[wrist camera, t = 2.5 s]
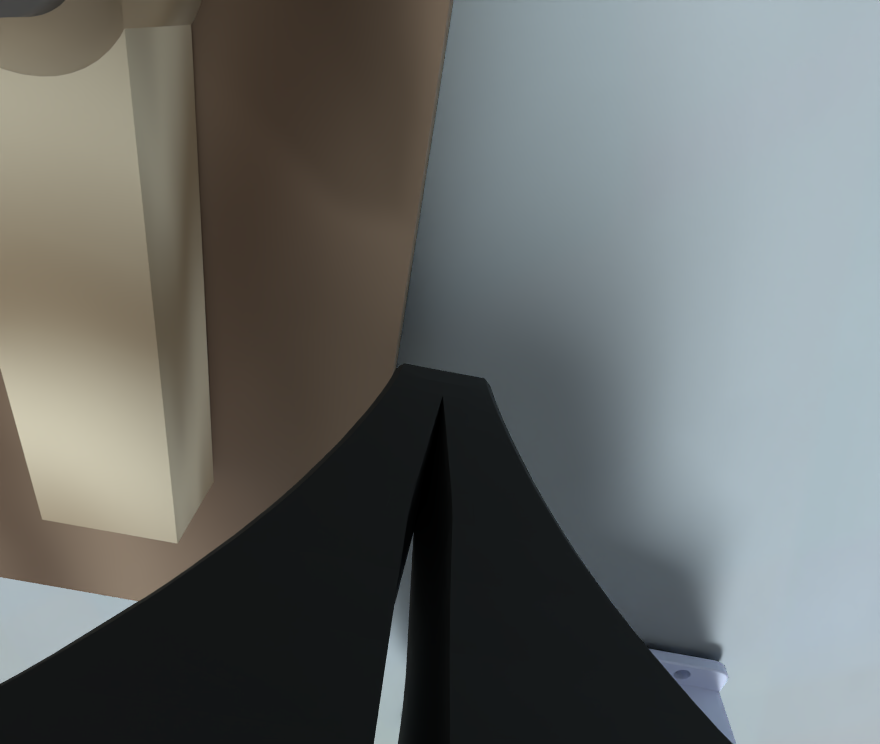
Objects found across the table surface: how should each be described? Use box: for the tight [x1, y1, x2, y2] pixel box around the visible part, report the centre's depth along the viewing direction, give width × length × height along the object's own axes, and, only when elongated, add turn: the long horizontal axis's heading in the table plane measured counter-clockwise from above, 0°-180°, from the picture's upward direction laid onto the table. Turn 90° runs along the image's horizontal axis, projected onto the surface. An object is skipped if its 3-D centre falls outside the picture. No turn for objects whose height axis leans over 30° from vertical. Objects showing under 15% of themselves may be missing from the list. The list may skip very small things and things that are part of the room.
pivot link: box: [0, 0, 214, 543], centre depth 10 cm, size 13×4×3 cm, turn 170°
